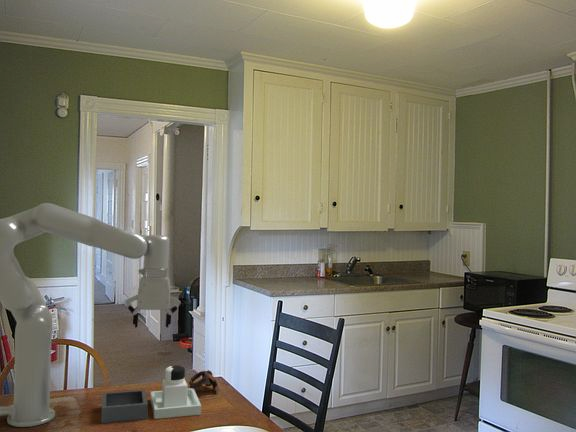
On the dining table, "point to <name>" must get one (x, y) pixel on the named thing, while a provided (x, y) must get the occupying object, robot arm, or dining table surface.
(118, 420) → the holder
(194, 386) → the broken pottery ring
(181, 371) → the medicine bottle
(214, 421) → the dining table surface
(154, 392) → the tray
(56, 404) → the dining table surface
